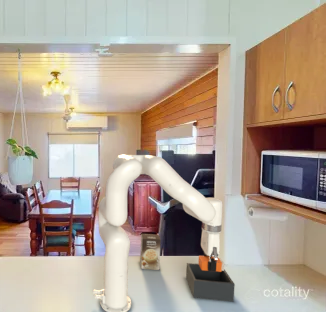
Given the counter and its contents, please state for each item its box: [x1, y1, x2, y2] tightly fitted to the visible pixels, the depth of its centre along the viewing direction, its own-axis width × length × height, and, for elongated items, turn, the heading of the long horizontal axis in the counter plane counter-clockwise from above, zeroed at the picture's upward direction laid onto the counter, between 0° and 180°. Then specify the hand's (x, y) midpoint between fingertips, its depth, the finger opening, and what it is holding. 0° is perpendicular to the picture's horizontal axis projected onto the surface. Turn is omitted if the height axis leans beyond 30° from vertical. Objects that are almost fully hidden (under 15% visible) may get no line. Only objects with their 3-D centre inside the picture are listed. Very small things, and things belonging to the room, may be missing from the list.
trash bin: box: [185, 262, 236, 303], centre depth 107 cm, size 16×14×8 cm
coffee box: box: [139, 233, 162, 271], centre depth 125 cm, size 9×6×16 cm
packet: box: [197, 255, 225, 272], centre depth 106 cm, size 9×5×4 cm, turn 81°
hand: (209, 266), depth 107 cm, fingers closed on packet, 5 cm apart
